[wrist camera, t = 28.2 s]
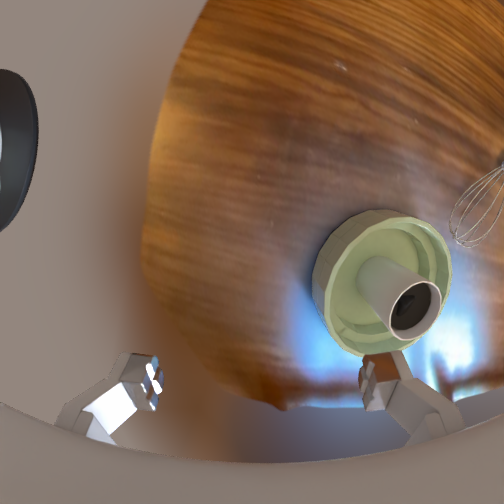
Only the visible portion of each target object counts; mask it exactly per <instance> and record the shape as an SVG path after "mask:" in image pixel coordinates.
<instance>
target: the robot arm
mask: <svg viewBox="0 0 504 504" xmlns="http://www.w3.org/2000/svg"><path fill="white" fill-rule="evenodd" d="M1 152H2V134H1V127H0V159H1ZM362 362H363V366H362V367H361V368H360V371H359V377H358V382H359V388H360V391H362V392H363V393H364V396H363V398H362V400H363V404H364V407H365V411H366V412H368V411H375V410H383V409H385V411H386V412H387V413H388V414H390V416H391V417H392V418H393V419H395V421H397V422H398V423H399V424H400V425H401V426H402V427H403V428H404V429H405V430H406V431H407V432H408V433H409V434H410V435H411V438H410V439H409V440H408V442H407V443H406V444H405V446H404V447H403V448H399V449H395V450H390V451H385V452H380V453H375V454H370V455H363V456H357V457H350V458H342V459H334V460H325V461H313V462H297V463H233V462H217V461H206V460H195V459H188V458H180V457H174V456H167V455H161V454H155V453H150V452H145V451H140V450H135V449H131V448H126V447H122V446H118V445H116V443H115V442H114V440H113V439H112V438H111V437H110V434H111V433H112V432H113V431H114V430H115V429H116V428H118V426H119V425H121V424H122V423H123V422H124V421H125V420H126V419H127V418H128V417H129V416H130V415H132V414H133V413H134V412H135V411H136V409H141V410H148V411H155V410H156V407H157V404H158V401H159V398H158V395H157V394H158V393H159V392H161V391H162V388H163V385H164V376H163V372H162V369H161V368H159V367H158V364H159V361H158V358H157V356H153V355H145V354H137V353H128V352H122V353H121V354H120V355H119V357H118V359H117V361H116V363H115V365H114V367H113V368H112V370H111V372H110V375H109V377H108V379H103V380H102V381H100V382H98V383H97V384H95V385H94V386H92V387H91V388H89V389H88V390H86V391H85V392H83V393H82V394H80V395H78V396H77V397H75V398H74V399H72V400H70V401H69V402H68V403H66V404H65V405H64V407H63V409H62V411H61V413H60V414H59V416H58V418H57V420H56V422H55V424H54V425H52V424H49V423H46V422H44V421H41V420H39V419H37V418H34V417H32V416H30V415H27V414H25V413H23V412H21V411H19V410H16V409H14V408H12V407H10V406H8V405H6V404H4V403H2V402H0V504H504V413H503V414H500V415H498V416H496V417H493V418H491V419H489V420H487V421H484V422H482V423H480V424H477V425H474V426H472V427H469V428H467V427H466V425H465V423H464V421H463V418H462V416H461V414H460V411H459V409H458V407H457V405H456V404H454V403H453V402H451V401H450V400H448V399H447V398H445V397H444V396H443V395H441V394H440V393H438V392H437V391H435V390H434V389H432V388H431V387H429V386H428V385H427V384H425V383H424V382H422V381H421V380H419V379H418V378H413V375H412V373H411V371H410V369H409V366H408V364H407V362H406V360H405V357H404V355H403V353H402V351H401V350H394V351H386V352H378V353H370V354H365V355H364V356H363V360H362Z"/></svg>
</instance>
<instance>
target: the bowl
mask: <svg viewBox="0 0 504 504" xmlns="http://www.w3.org/2000/svg"><path fill="white" fill-rule="evenodd" d="M375 256H384V257H387V258H389V259H391V260H393V261H394V262H396V263H398V264H400V265H402V266H404V267H406V268H407V269H409V270H411V271H413V272H415V273H417V274H418V275H420V276H422V277H424V278H426V279H427V280H429V281H431V282H433V283H434V284H435V285H436V286H437V287H438V288H439V290H440V293H441V297H442V300H441V309H440V312H439V314H438V317H439V315H440V314H441V312H442V310H443V307H444V305H445V303H446V300H447V298H448V295H449V292H450V286H451V279H452V264H451V255H450V252H449V250H448V247H447V245H446V243H445V241H444V238H443V237H442V235H441V234H440V233H439V232H438V231H437V230H436V229H435V228H434V227H433V226H432V225H430V224H429V223H427V222H425V221H422V220H419V219H417V218H414V217H411V216H408V215H405V214H402V213H399V212H396V211H393V210H389V209H382V210H368V211H365V212H363V213H361V214H358V215H356V216H353V217H351V218H349V219H348V220H347V221H346V222H344V223H343V224H342V225H341V226H340V227H338V228H337V229H336V230H335V231H334V232H333V233H331V235H330V236H329V238H328V239H327V241H326V242H325V244H324V246H323V247H322V249H321V250H320V252H319V254H318V257H317V260H316V263H315V266H314V270H313V273H312V298H313V300H314V303H315V306H316V309H317V312H318V314H319V316H320V318H321V319H322V321H323V323H324V325H325V327H326V328H327V330H328V332H329V334H330V336H331V337H332V338H333V339H334V340H335V341H336V342H337V344H338V345H339V346H340V347H341V348H342V349H343V350H345V351H347V352H349V353H351V354H353V355H356V356H358V357H363V356H364V355H365V354H370V353H378V352H386V351H394V350H401V351H402V350H404V349H406V348H408V347H409V346H411V345H413V344H414V343H415V342H416V341H418V340H419V339H420V338H421V337H422V336H423V335H424V334H425V333H426V332H428V331H426V332H425V333H424V334H423V335H421V336H420V337H418V338H415V339H413V340H400V339H398V338H396V337H395V336H393V335H392V333H391V332H390V331H389V329H388V328H387V327H386V326H385V324H384V323H383V322H382V320H381V319H380V318H379V317H378V315H377V314H376V313H375V311H374V310H373V309H372V308H371V306H370V305H369V304H368V303H367V301H366V300H365V299H364V298H363V296H362V295H361V294H360V292H359V291H358V289H357V286H356V277H357V273H358V270H359V269H360V267H361V266H362V264H363V263H364V262H365V261H367V260H368V259H369V258H371V257H375ZM438 317H437V318H438ZM436 320H437V319H436ZM433 324H434V323H433ZM431 327H432V326H431ZM431 327H430V328H431Z"/></svg>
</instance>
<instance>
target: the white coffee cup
mask: <svg viewBox="0 0 504 504" xmlns="http://www.w3.org/2000/svg"><path fill="white" fill-rule="evenodd" d="M356 286H357V289H358V291H359V292H360V294H361V295H362V296H363V298H364V299H365V300H366V301H367V303H368V304H369V305H370V306H371V308H372V309H373V310H374V311H375V313H376V314H377V315H378V317H379V318H380V319H381V320H382V322H383V323H384V324H385V326H386V327H387V328H388V329H389V331H390V332H391V333H392V335H393V336H395V337H396V338H398V339H400V340H413V339H415V338H418V337H420V336H421V335H423V334H424V333H425V332H426V331H428V330H429V329H430V327H431V326H432V325H433V323H434V322H435V321H436V319H437V317H438V314H439V312H440V309H441V300H442V297H441V293H440V290H439V288H438V287H437V286H436V285H435V284H434V283H433V282H431V281H429V280H427V279H426V278H424V277H422V276H420V275H418V274H417V273H415V272H413V271H411V270H409V269H407V268H406V267H404V266H402V265H400V264H398V263H396V262H394V261H393V260H391V259H389V258H387V257H384V256H375V257H371V258H369V259H368V260H367V261H365V262H364V263H363V264H362V266H361V267H360V269H359V270H358V273H357V277H356Z"/></svg>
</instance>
